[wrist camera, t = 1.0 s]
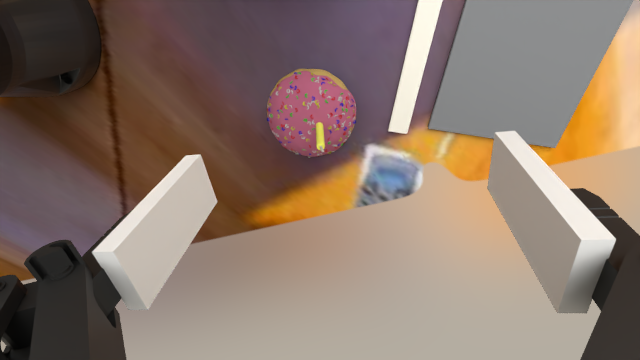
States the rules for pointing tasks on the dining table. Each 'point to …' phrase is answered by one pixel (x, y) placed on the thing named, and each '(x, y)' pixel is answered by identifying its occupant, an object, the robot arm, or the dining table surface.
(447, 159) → the dining table surface
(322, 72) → the cupcake
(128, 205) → the dining table surface
